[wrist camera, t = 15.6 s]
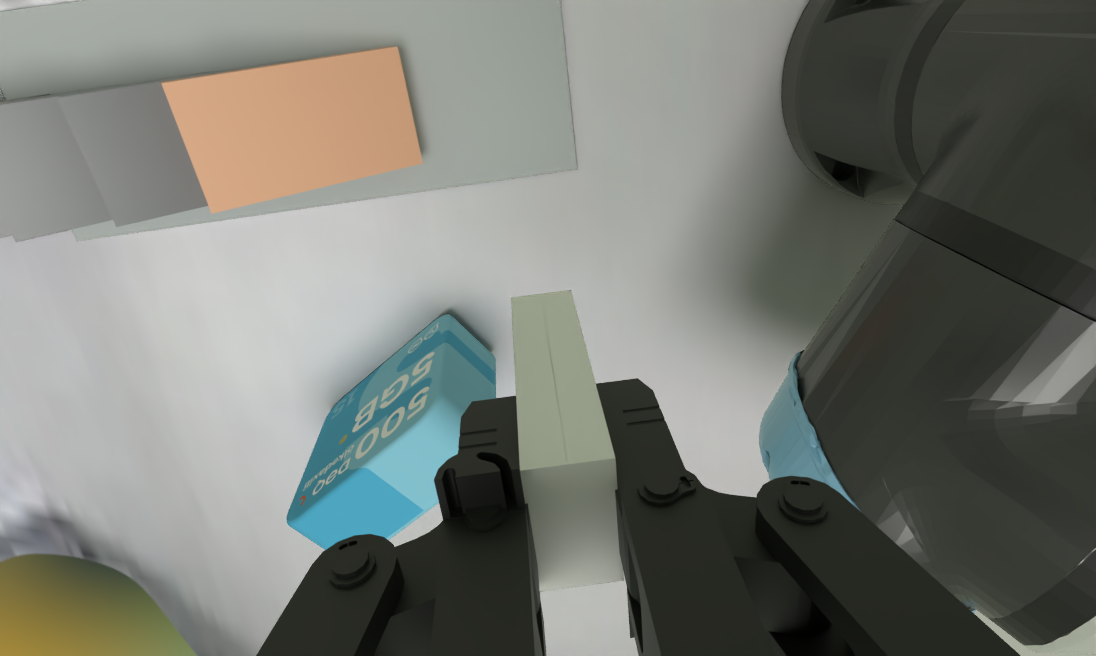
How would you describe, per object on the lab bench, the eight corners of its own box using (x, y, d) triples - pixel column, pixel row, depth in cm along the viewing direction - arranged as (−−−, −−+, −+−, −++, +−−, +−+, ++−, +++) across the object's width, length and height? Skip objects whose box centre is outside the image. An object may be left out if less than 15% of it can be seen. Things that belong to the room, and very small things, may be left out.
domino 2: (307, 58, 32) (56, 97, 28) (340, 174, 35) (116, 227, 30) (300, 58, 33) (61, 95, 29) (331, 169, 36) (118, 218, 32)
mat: (552, -64, 32) (553, -65, 32) (576, 167, 38) (577, 169, 37) (-30, 16, 32) (-36, 16, 31) (81, 239, 37) (76, 241, 37)
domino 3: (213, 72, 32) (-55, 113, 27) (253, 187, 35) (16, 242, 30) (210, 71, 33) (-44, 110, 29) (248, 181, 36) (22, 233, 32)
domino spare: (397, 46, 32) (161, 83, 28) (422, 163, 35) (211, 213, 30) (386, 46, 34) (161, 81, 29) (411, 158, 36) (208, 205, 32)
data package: (451, 305, 41) (437, 408, 31) (496, 348, 43) (499, 460, 32) (328, 408, 44) (276, 535, 34) (376, 445, 46) (341, 577, 35)
